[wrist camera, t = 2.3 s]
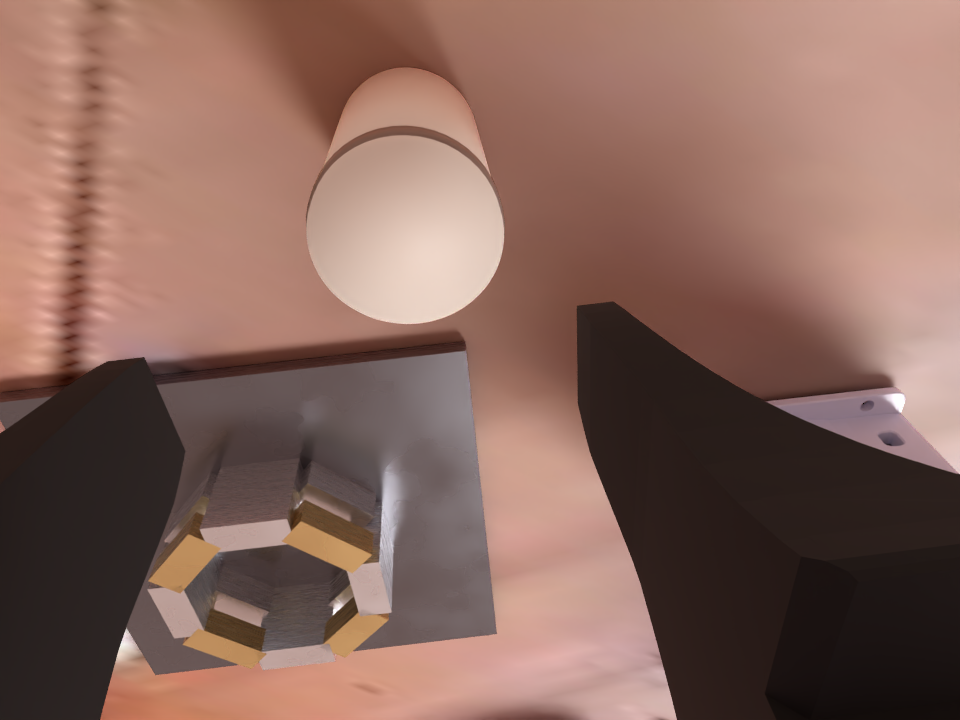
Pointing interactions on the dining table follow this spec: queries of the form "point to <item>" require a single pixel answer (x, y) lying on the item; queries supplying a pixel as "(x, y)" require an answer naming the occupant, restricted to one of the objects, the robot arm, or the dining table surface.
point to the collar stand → (314, 511)
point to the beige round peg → (405, 202)
